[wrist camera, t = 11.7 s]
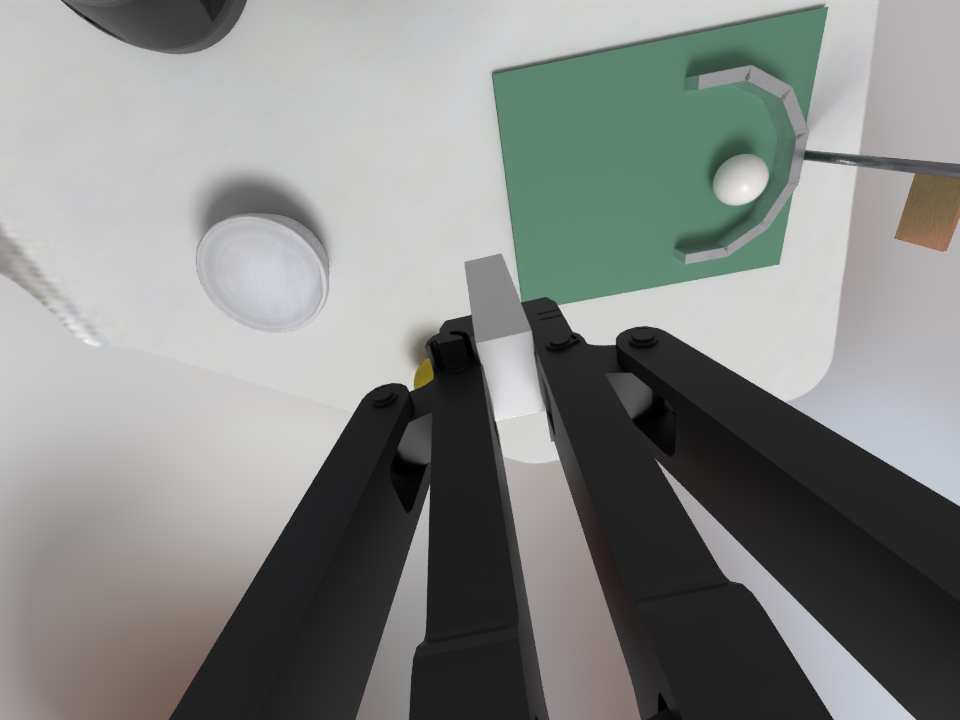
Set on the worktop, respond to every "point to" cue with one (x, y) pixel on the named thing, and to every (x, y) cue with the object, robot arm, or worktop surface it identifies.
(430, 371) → the lemon
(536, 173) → the putting mat
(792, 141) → the cup
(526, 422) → the worktop surface
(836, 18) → the worktop surface
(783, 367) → the worktop surface
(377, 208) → the worktop surface
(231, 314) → the ramekin
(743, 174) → the golf ball
